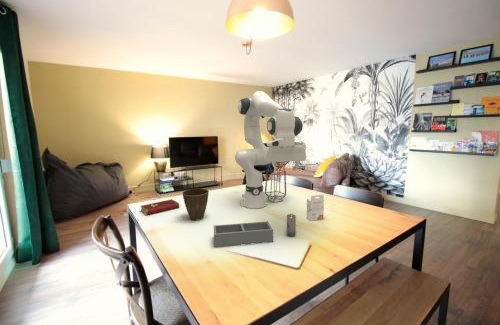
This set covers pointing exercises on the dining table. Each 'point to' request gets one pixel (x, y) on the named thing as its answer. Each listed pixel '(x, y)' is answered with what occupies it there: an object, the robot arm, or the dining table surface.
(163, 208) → the hardcover book
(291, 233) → the metal cell
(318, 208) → the ink cartridge box
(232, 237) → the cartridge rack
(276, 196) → the geometric lantern
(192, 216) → the plant pot
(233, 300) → the dining table surface
